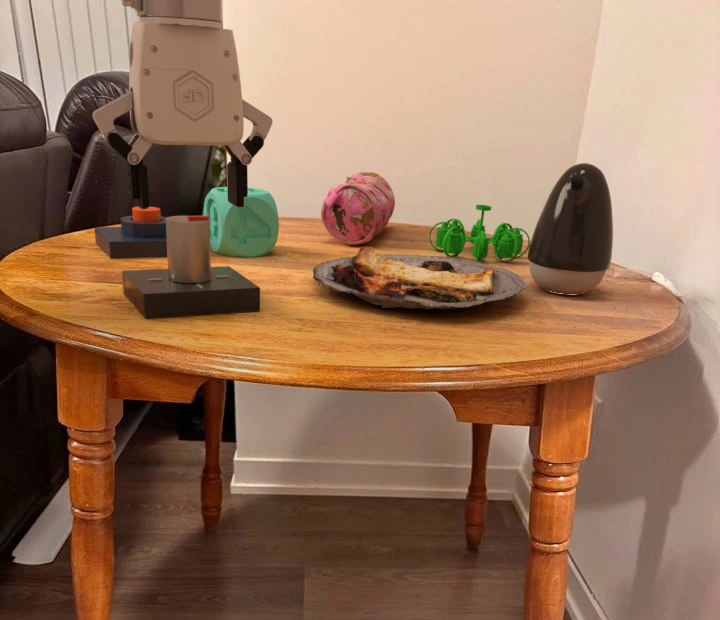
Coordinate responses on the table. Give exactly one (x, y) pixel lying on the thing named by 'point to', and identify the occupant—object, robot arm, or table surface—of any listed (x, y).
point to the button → (146, 214)
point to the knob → (188, 249)
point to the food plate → (418, 280)
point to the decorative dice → (242, 223)
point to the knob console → (190, 293)
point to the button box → (133, 239)
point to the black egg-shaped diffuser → (573, 233)
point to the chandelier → (479, 238)
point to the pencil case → (358, 208)
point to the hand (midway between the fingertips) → (190, 205)
